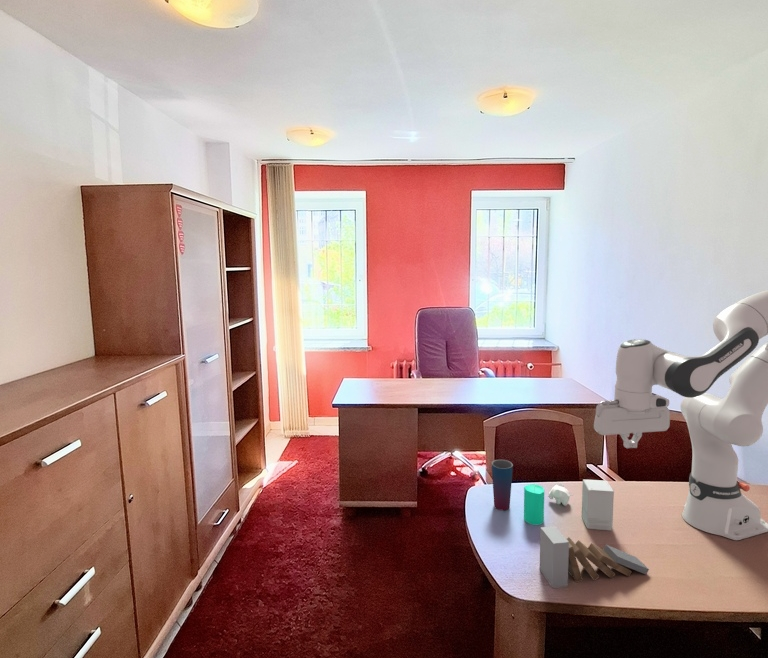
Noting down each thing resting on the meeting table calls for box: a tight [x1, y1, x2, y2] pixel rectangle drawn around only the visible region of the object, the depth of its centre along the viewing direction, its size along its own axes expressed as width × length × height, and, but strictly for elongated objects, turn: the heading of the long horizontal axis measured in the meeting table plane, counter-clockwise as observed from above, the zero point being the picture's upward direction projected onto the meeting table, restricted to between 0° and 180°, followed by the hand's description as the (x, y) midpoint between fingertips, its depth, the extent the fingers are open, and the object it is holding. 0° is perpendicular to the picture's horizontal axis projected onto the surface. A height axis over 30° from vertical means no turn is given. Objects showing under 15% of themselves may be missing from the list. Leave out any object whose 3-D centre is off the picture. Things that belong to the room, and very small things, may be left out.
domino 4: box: [587, 542, 633, 578], centre depth 116 cm, size 2×5×10 cm
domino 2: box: [566, 536, 600, 581], centre depth 115 cm, size 2×5×10 cm
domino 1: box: [568, 543, 583, 583], centre depth 115 cm, size 2×5×10 cm, turn 6°
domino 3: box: [575, 540, 616, 579], centre depth 115 cm, size 2×5×10 cm
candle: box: [523, 483, 545, 526], centre depth 140 cm, size 6×6×12 cm
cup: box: [491, 459, 514, 511], centre depth 148 cm, size 7×7×15 cm
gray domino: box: [603, 544, 650, 575], centre depth 116 cm, size 2×5×10 cm
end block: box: [539, 525, 569, 589], centre depth 114 cm, size 4×7×12 cm, turn 6°
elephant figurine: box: [547, 482, 573, 507], centre depth 150 cm, size 7×8×6 cm
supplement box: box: [581, 479, 615, 531], centre depth 137 cm, size 7×7×13 cm
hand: (630, 447), depth 123 cm, fingers closed
